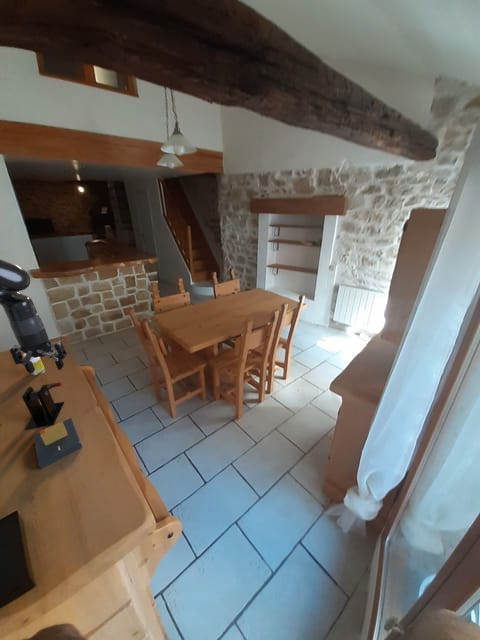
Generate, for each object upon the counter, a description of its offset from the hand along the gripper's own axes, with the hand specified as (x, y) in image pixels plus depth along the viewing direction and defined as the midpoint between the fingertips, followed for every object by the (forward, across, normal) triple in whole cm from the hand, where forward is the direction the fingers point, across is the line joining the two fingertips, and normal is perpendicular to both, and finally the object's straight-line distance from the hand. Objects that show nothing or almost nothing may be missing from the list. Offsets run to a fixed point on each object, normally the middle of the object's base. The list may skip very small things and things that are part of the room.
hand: (46, 370), depth 86 cm
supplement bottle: (+13, -15, +18) cm, 27 cm away
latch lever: (+7, -1, -4) cm, 8 cm away
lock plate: (+13, +7, -21) cm, 26 cm away
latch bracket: (+13, -1, -8) cm, 16 cm away
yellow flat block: (+10, +7, -21) cm, 25 cm away
